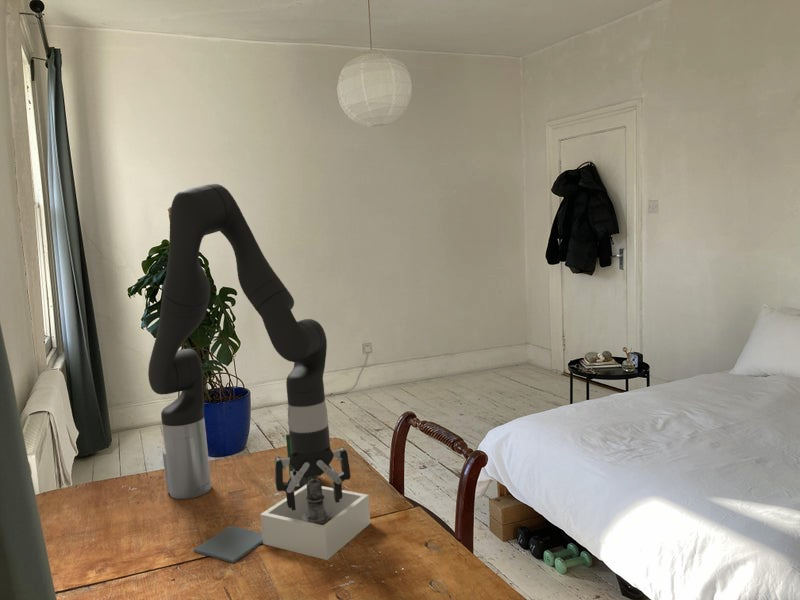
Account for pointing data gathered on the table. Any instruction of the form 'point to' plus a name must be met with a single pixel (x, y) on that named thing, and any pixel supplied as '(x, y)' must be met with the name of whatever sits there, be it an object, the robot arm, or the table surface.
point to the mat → (231, 544)
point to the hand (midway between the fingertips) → (315, 504)
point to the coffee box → (303, 479)
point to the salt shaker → (315, 504)
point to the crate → (313, 538)
